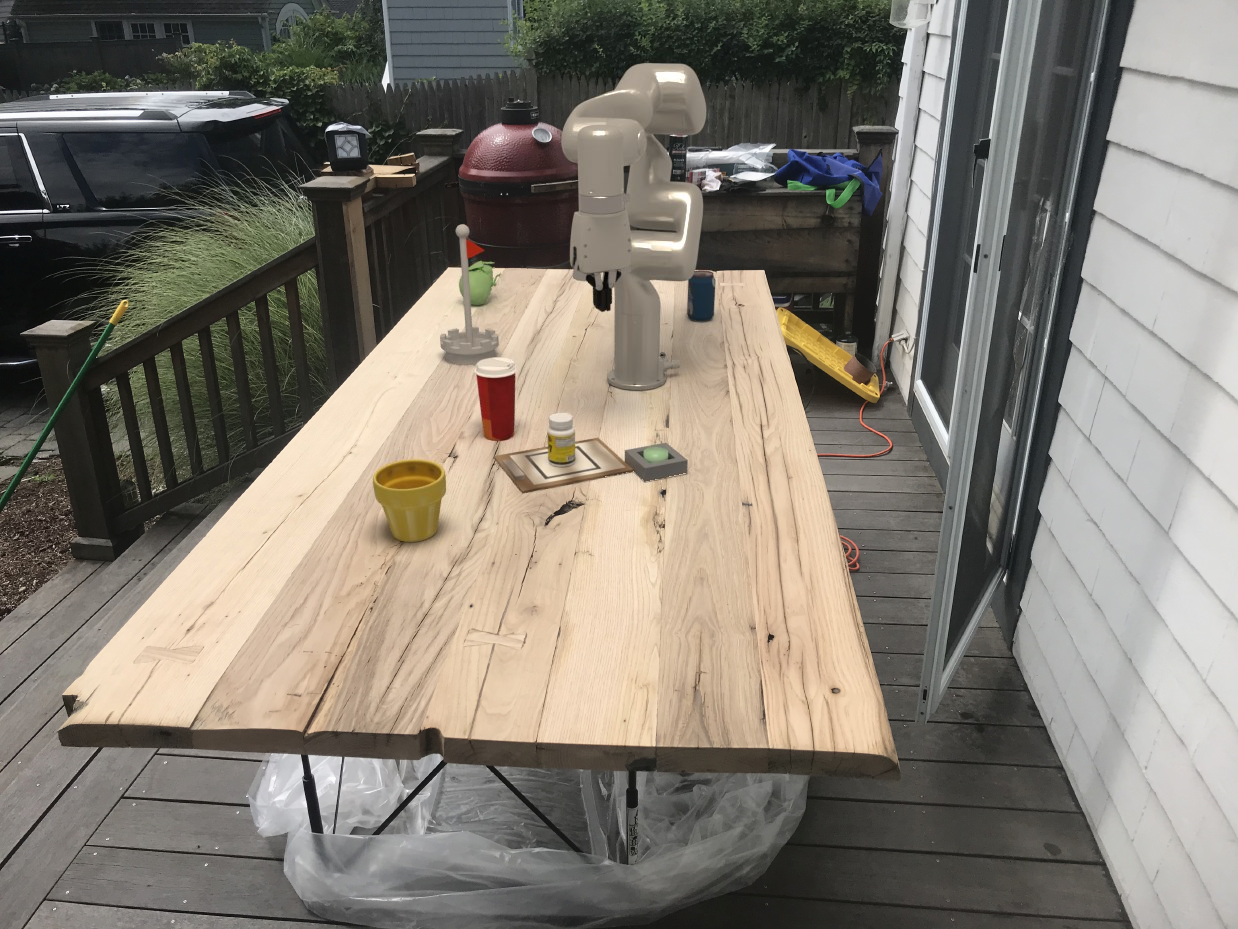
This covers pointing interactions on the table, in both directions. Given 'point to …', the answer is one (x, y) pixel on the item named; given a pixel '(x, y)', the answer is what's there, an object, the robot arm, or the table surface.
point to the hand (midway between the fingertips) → (602, 309)
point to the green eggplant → (480, 282)
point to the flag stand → (468, 318)
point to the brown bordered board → (538, 473)
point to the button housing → (656, 463)
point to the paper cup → (497, 397)
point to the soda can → (701, 296)
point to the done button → (655, 454)
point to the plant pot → (411, 497)
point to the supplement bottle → (561, 440)
